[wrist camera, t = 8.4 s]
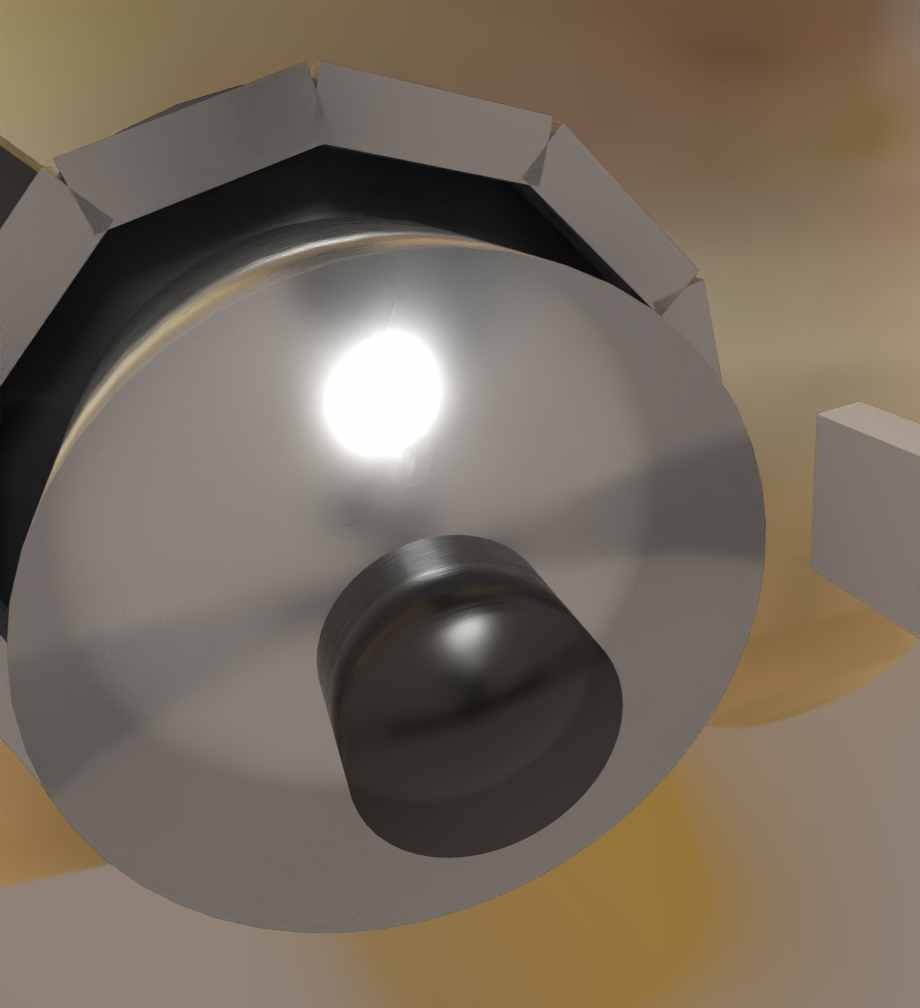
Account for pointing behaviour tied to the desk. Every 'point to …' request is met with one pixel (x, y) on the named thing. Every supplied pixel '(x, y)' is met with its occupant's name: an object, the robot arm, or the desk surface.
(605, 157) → the desk surface
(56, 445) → the pot
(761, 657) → the desk surface
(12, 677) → the lid
